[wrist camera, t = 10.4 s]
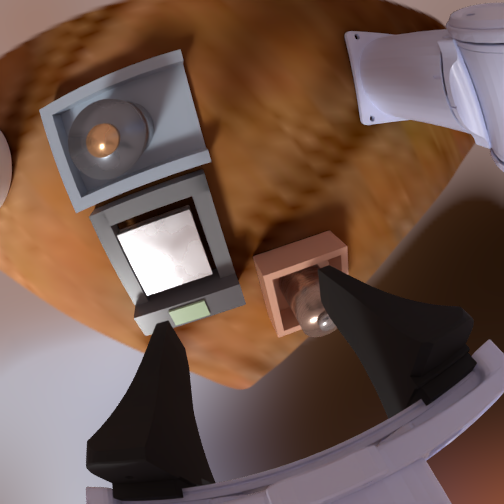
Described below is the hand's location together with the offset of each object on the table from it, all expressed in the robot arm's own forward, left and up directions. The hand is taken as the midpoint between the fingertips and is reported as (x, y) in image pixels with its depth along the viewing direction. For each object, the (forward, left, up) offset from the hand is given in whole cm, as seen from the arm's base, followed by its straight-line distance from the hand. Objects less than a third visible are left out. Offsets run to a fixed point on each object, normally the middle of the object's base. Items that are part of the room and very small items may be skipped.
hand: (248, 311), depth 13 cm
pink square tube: (-5, +7, -10) cm, 13 cm away
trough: (+4, -9, -10) cm, 14 cm away
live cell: (+4, -9, -10) cm, 14 cm away
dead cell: (-5, +7, -10) cm, 13 cm away
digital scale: (+4, 0, -10) cm, 11 cm away
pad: (+4, 0, -9) cm, 10 cm away
